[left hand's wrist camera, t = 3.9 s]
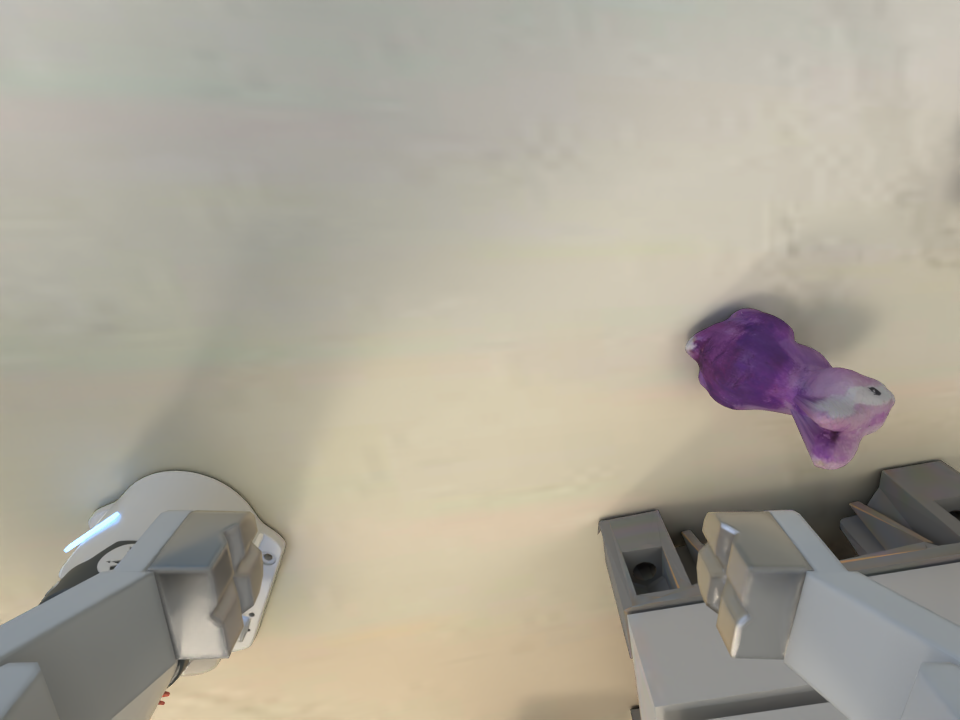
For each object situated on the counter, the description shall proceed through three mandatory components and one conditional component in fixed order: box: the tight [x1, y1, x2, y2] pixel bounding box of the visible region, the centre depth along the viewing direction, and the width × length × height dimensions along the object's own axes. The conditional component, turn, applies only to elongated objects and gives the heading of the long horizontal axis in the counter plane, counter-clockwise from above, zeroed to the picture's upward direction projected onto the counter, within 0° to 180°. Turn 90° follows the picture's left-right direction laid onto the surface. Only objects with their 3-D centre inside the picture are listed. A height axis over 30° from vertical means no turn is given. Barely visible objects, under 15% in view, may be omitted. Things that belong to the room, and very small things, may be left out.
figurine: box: [685, 308, 895, 470], centre depth 44 cm, size 9×10×15 cm
